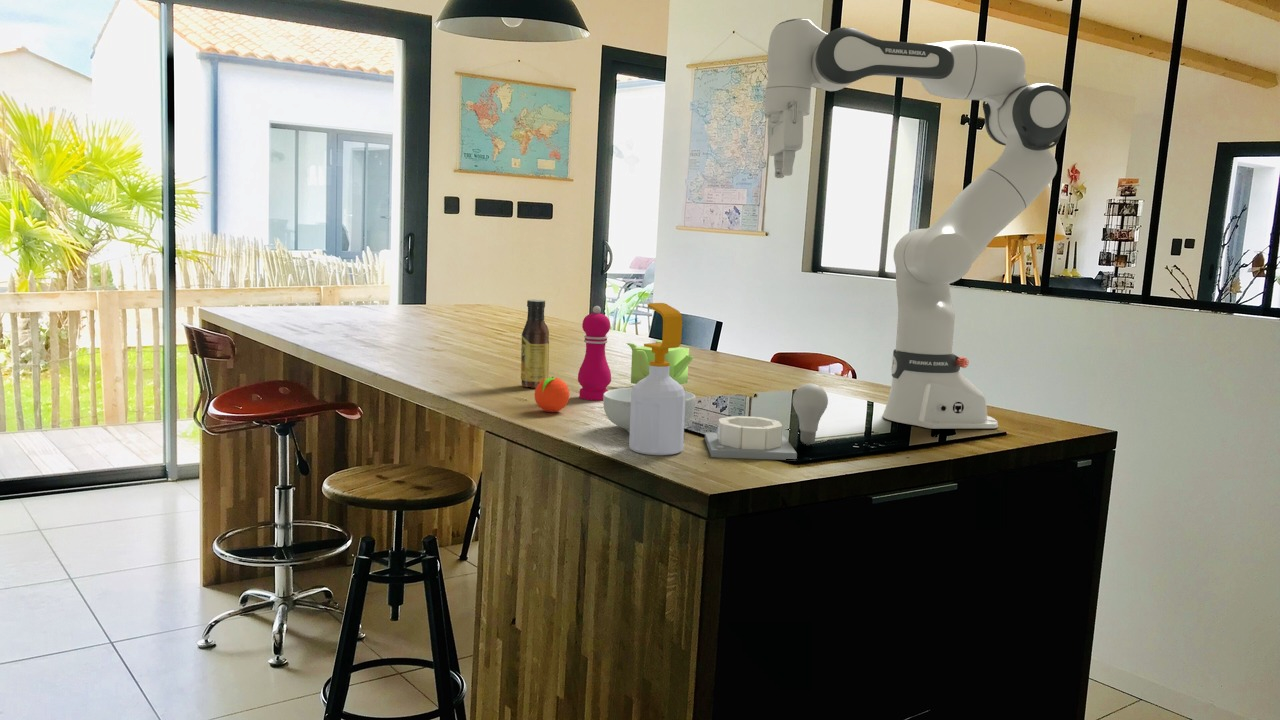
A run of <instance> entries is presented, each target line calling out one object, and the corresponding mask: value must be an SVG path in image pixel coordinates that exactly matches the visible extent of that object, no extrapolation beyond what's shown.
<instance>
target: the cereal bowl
mask: <svg viewBox="0 0 1280 720" xmlns="http://www.w3.org/2000/svg"><path fill="white" fill-rule="evenodd" d="M632 389H633V386H632V387H620V388H614V389H610V390H608V391H607V392H605V393H604V394H603V400H602V401H603V409H604V413H605V414H606V415H605V416H606V418H608V420H609V421H610V422H611V423H612V424H614V425H616V426H618V427H620V428H623V429H625V430H626V432H628V433H629V434H630V411H631V391H632ZM684 391H685V390H684ZM685 394H686V397H685V419H684V425H686V424H687V423H688V422H689V421H690V420H691V419H692V417H693V415H694V412H695V408H696V395H695V394H694V393H692V392H690V391H685Z"/></svg>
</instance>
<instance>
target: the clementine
mask: <svg viewBox="0 0 1280 720" xmlns="http://www.w3.org/2000/svg"><path fill="white" fill-rule="evenodd" d="M569 389H570V388H569V387H568V385H567V383H566V382H565V381H564V380H562V379H560V378H558V377H554V376H551V377H548V378H545V379H543V380H542V381H541V382H540V383H539V384H538V385H537V387H536V388H534V400H535V403H536V404H537V406H538V407H539V408H540V409H541V410H543V411H545V412H547V413H556V412H560V411H561V410H563V409H564V408H565V407H566V406H567V405H568V402H569V399H570V390H569Z"/></svg>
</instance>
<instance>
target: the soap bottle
mask: <svg viewBox="0 0 1280 720" xmlns="http://www.w3.org/2000/svg"><path fill="white" fill-rule="evenodd" d="M647 307H648V308H650V309H652V310H653V311H655V312H656V313H658V314H660V316H661V317H662V340H661V341H662V343H656V342H651V343H643V346H644V347H650V348H652V353H655V361H650V367H649V375H648V376H647V377H646V378H644V379H642V380H640V381H639V382H638V383H636V384H634V385H633V386H632V387H633V389H632V391H631V411H630V433H629V435H628V436H629V440H628V442H629V443H628V446H629V449H630V450H631V451H633V452H634V453H638V454H640V455H641V454H642V455H645V456H646V455H648V456H671V455H676V454H680V453H681V452H682V451H683V450H684V437H685V436H684V435H685V424H684V419H685V397H686V394H685V389H684V387H683V386H682V384H679V383H678V382H677V381H675V380H674V379H672V378H671V377H670V376H669V364H670V363H669V362H666V361H665V354H666V353H668V349H669V348H677V347H681V345H682V334H683V333H682V332H683V315H682V313H681V312H680V311H679V310H678V309H677V308H674V307H672V306H671V305H669V304H667V303H665V302H649V303H648V304H647Z"/></svg>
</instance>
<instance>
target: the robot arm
mask: <svg viewBox="0 0 1280 720" xmlns="http://www.w3.org/2000/svg"><path fill="white" fill-rule="evenodd" d="M768 40H769V42H768V50H767V58H766V69H767V78H768V79H767V82H766V85H765V91H764V92H765V93H764V94H765V95H764V98H765V99H764V112H763V113H764V118H765V119H767V150H768V154H769V156H770V157H773V163H774V164H773V165H774V178H775V179H783V178H784V177H786V176H792V175H793V172H794V171H793V170H794V169H793V167H794V163H795V159H796V158H795V157H796V152H798V151H799V150H802V146H803V142H804V138H803V137H804V117H807V116H809V115H810V112H811V111H810V110H811V94H812V93H811V92H812V88H815V89H819V90H823V91H828V92H835V91H839V90H843V89H844V88H846V87H848V86H849V85H851V84H852V83H855V82H857V81H860V80H861V79H865V78H866V77H871V76H880V77H892V78H893V77H894V78H905V79H908V78H909V79H913V80H916V81H918V82H920V83H921V85H922V87H923V88H924V90H925V91H926V92H927V93H928V94H929V95H930V96H931V95H932V96H934V97H935V96H936V97H938V98H939V97H940V98H944V99H950V100H963V101H964V100H967V101H969V100H970V101H980V102H982V109H983V115H984V127H985V131H986V132H987V134H988V136H989V137H990V139H991V140H993V141H994V142H995V143H996V144H999V145H1002V146H1004V149H1003V150H1002V153H1001V154H1000V156H998V158H997V160H996V161H994V162H993V163H992V164H991V165H990V166H988V167H987V168H986V169H984V171H983V172H982V173H980V175H978V177H976V178H975V179H973V181H972V182H971V183H969V184H968V185H967V186H966V187H965V188H964V189H963V190H962V191H961V192H960V193H958V194H957V196H955V197H954V199H953V201H952V202H951V204H950V205H949V207H947V209H946V210H945V212H944V213H943V214H942V215H941V216H940V217H939V219H937V220H936V221H935V222H934V223H933V224H932V225H931V226H929V227H927V228H916V229H913V230H911V231H908V233H906V234H904V235H903V236H902V237H901V238H900V239H899V241H898V242H897V243H896V244H895V246H894V249H893V262H894V266H895V284H896V286H895V287H896V296H897V324H896V325H897V327H896V341H895V348H894V349H893V353H892V358H891V370H890V371H891V376H892V377H891V378H892V379H891V386H890V391H889V394H888V399H887V401H886V405H885V408H884V410H883V413H882V418H884V419H886V420H888V421H892V422H896V423H901V424H906V425H912V426H917V427H922V428H926V429H935V430H937V429H939V430H940V429H943V430H944V429H997V428H998V427H999V423H998V420H996V419H995V418H994V417H992V416H989V415H988V409H987V408H988V407H987V401H986V397H985V394H984V393H983V392H982V391H981V390H980V389H979V388H978V387H976V385H975V384H973V383H972V382H971V381H970V380H969V379H968V378H966V376H964V375H963V374H962V373H961V372H960V369H961V368H963V369H966V368H967V367H968V366H969V364H970V362H969V361H970V360H969V359H968V358H966V357H964V356H957V355H956V354H954V353H953V343H954V341H953V340H954V330H955V329H954V328H955V319H956V316H955V315H956V314H955V310H954V307H953V304H952V296H951V285H950V284H952V283H955V282H957V281H959V280H960V279H962V278H964V277H965V276H966V275H967V274H968V273H969V271H970V270H971V268H972V266H973V263H975V261H976V260H977V259H978V258H979V257H980V255H981V254H982V253H983V252H984V251H985V249H986V248H987V247H988V245H989V244H990V243H991V242H992V241H993V239H995V237H996V236H997V235H998V234H999V233H1000V232H1001V231H1003V230H1004V229H1005V228H1006V227H1007V226H1008V225H1010V223H1011V222H1013V221H1014V220H1015V219H1016V218H1017V217H1018V216H1020V214H1022V213H1023V212H1024V211H1025V210H1026V209H1027V208H1028V207H1029V206H1030V205H1032V203H1033V202H1035V200H1036V199H1038V197H1039V196H1040V195H1041V194H1042V193H1043V192H1044V191H1045V189H1046V188H1047V187H1048V185H1049V184H1050V183H1051V182H1052V180H1053V179H1054V178H1055V176H1056V174H1057V171H1058V164H1057V161H1056V158H1055V156H1054V154H1053V153H1052V152H1051V150H1050V149H1051V148H1053V147H1055V146H1057V144H1058V143H1059V141H1060V138H1061V136H1062V134H1063V130H1064V129H1065V127H1066V125H1067V124H1068V121H1069V119H1070V115H1071V109H1072V108H1071V107H1072V106H1071V100H1070V98H1069V96H1068V94H1067V93H1066V92H1065V91H1064V90H1063V89H1062V88H1061V87H1059V86H1057V85H1054V84H1052V83H1045V82H1044V83H1043V82H1040V83H1032V84H1031V85H1029V83H1028V81H1027V79H1026V75H1025V74H1026V62H1025V58H1024V56H1023V54H1022V53H1021V52H1020V51H1019V50H1018V49H1016V48H1015V47H1010V46H1009V45H1008V46H1006V45H1003V44H998V43H993V42H986V41H985V42H984V41H977V40H975V41H974V40H950V41H949V40H948V41H947V40H946V41H940V42H939V41H938V42H931V43H930V42H929V43H918V42H908V41H907V42H906V41H897V40H886V39H885V40H884V39H879V38H876V37H873V36H871V35H869V34H867V33H865V32H863V31H862V30H859V29H856V28H855V27H854V28H853V27H850V26H848V27H847V26H845V27H839V28H836V29H833V30H831V31H830V32H825V31H823V29H821V28H819V27H818V26H817V25H815V24H814V23H813V22H812V21H811V19H809V18H802V17H801V18H791V19H787V20H784V21H781V22H780V23H778V24H777V25H775V26H774V28H773V29H772V30H771V33H770V36H769V39H768Z"/></svg>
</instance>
